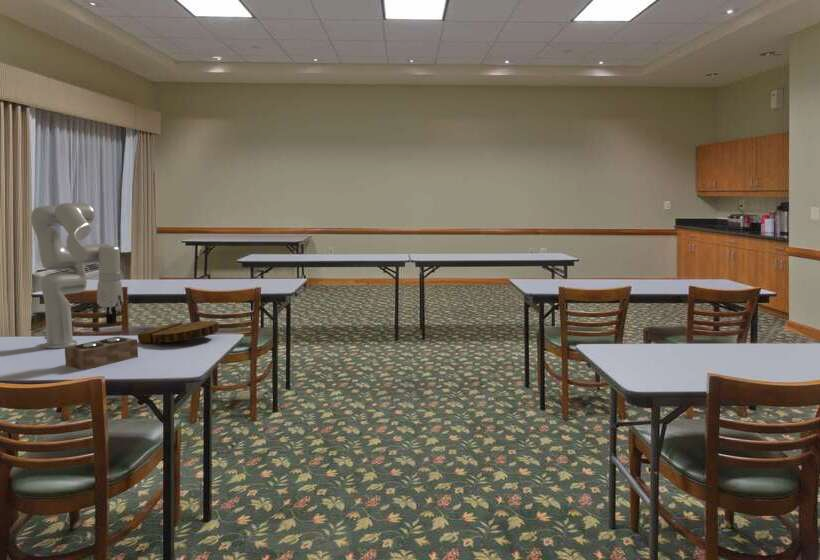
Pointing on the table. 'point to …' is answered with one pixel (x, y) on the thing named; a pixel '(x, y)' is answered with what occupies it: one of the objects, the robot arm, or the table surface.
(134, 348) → the socket block
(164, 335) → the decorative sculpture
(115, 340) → the peg far
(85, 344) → the peg near
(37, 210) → the robot arm
